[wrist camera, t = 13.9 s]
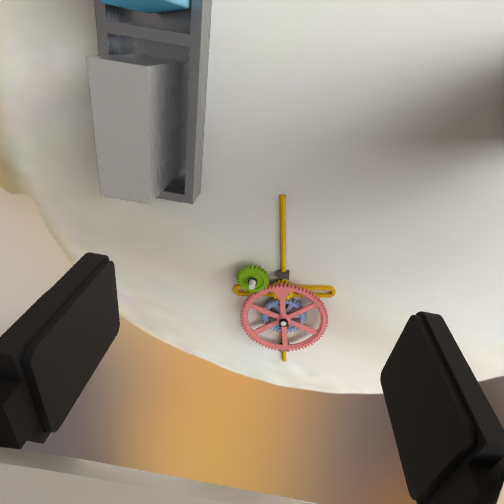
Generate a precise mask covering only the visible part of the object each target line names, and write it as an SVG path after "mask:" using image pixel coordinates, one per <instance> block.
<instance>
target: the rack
mask: <svg viewBox="0 0 504 504" xmlns="http://www.w3.org/2000/svg"><path fill="white" fill-rule="evenodd" d="M94 3H95V14H96V26H97V37H98V48H99V56H86V60H87V70H88V79H89V88H90V98H91V107H92V117H93V126H94V136H95V145H96V155H97V164H98V173H99V183H100V192H101V196H106V197H112V198H117V199H123V200H129V201H135V202H140V203H146V204H151V203H152V202H153V201H154V200H155V199H156V198H161V199H167V200H172V201H178V202H184V203H189V204H193V203H194V201H195V200H196V198H197V196H198V195H199V193H200V186H201V170H202V153H203V137H204V121H205V104H206V88H207V72H208V55H209V39H210V23H211V6H212V0H192V2H191V9H188V10H179V11H169V12H160V13H150V14H149V13H144V12H140V11H135V10H131V9H126V8H122V7H118V6H113V5H109V4H105V3H103V2H101V1H100V0H94Z"/></svg>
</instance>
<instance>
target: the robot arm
mask: <svg viewBox="0 0 504 504" xmlns="http://www.w3.org/2000/svg"><path fill="white" fill-rule="evenodd" d="M119 326H120V322H119V310H118V300H117V289H116V278H115V268H114V263H113V262H112V261H109V258H108V256H106V255H101V254H95V253H90V252H89V253H86V254H85V255H84V256H83V257H82V258H81V259H80V260H79V261H78V262H77V263H76V264H75V265H74V266H73V267H72V268H71V269H70V270H69V271H68V272H67V273H66V274H65V275H64V276H63V277H62V278H61V279H60V280H59V281H58V282H57V283H56V284H55V285H54V286H53V287H52V288H51V289H50V290H48V291H47V292H46V293H45V294H43V295H42V297H40V298H39V299H38V300H37V301H36V302H35V303H34V304H33V305H32V306H31V307H30V308H29V309H28V310H27V311H26V312H25V313H24V314H23V315H22V316H21V317H20V318H19V319H18V320H17V321H16V322H15V323H14V324H13V325H12V326H11V327H10V328H9V329H8V330H7V331H6V332H5V333H4V334H3V335H2V336H1V337H0V504H316V503H312V502H307V501H302V500H297V499H291V498H286V497H281V496H275V495H270V494H265V493H259V492H254V491H249V490H244V489H239V488H233V487H228V486H223V485H217V484H212V483H207V482H201V481H196V480H191V479H185V478H180V477H175V476H169V475H163V474H158V473H153V472H147V471H142V470H136V469H131V468H126V467H120V466H114V465H109V464H104V463H98V462H93V461H87V460H82V459H76V458H70V457H64V456H58V455H51V454H46V453H39V452H33V451H27V450H21V448H22V447H23V445H24V444H25V442H26V441H32V442H37V443H42V444H43V443H44V442H45V440H46V439H47V437H48V436H49V434H50V433H51V432H56V431H57V430H58V429H59V427H60V426H61V425H62V423H63V421H64V420H65V418H66V417H67V415H68V413H69V412H70V410H71V408H72V407H73V405H74V404H75V402H76V400H77V398H78V397H79V395H80V394H81V392H82V391H83V389H84V387H85V386H86V384H87V382H88V381H89V379H90V378H91V376H92V374H93V373H94V371H95V369H96V368H97V366H98V364H99V363H100V361H101V359H102V358H103V356H104V355H105V353H106V351H107V350H108V348H109V346H110V345H111V343H112V342H113V340H114V339H115V337H116V335H117V333H118V331H119ZM380 379H381V385H382V389H383V393H384V397H385V401H386V405H387V409H388V413H389V417H390V420H391V424H392V428H393V432H394V436H395V440H396V444H397V448H398V451H399V456H400V459H401V463H402V467H403V471H404V475H405V479H406V483H407V486H408V491H409V494H410V496H411V498H412V499H413V500H416V502H417V504H504V429H503V427H502V426H501V424H500V422H499V420H498V418H497V416H496V415H495V413H494V411H493V409H492V407H491V406H490V404H489V402H488V400H487V398H486V396H485V395H484V393H483V391H482V389H481V387H480V385H479V384H478V382H477V380H476V378H475V376H474V374H473V373H472V371H471V369H470V367H469V365H468V363H467V362H466V360H465V358H464V356H463V354H462V352H461V351H460V349H459V347H458V345H457V343H456V341H455V340H454V338H453V336H452V334H451V332H450V330H449V329H448V327H447V325H446V323H445V321H444V319H443V318H442V316H440V315H438V314H433V313H427V312H418V313H417V314H416V315H412V316H411V317H410V318H409V320H408V322H407V324H406V326H405V328H404V330H403V331H402V333H401V335H400V337H399V339H398V341H397V343H396V345H395V347H394V349H393V351H392V352H391V354H390V356H389V358H388V360H387V362H386V364H385V366H384V368H383V370H382V372H381V378H380Z"/></svg>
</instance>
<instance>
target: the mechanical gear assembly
mask: <svg viewBox="0 0 504 504" xmlns="http://www.w3.org/2000/svg"><path fill="white" fill-rule="evenodd" d="M280 227H281V270H278V279H281V280H278V283H277V282H274V284H272V285H270V284H269V279H270V278H268V277H269V275H268V274H267V271H264V269H261V266H260V267H258V268H257V265H256V266H255V267H254V266H253V264H252V266H251V267H250V266H249V265H248V267H245V266H244V269H242V268H241V271H239V272H238V274H237V281H238V284H237V285H236V286H235V287H234V293H235V294H236V295H239V296H248V299H246V301H245V302H244V304H243V306H242V310H241V321H242V323H241V324H242V327H244V328H243V329H245V332H247V334H249V337H251V339H253V341H255V340H256V343H257V342H259V345H260V344H262V346H264V345H265V347H267V346H268V349H269V348H270V347H271V349H273V348H274V349H275V350H276V349H278V351H282V360H283V362H285V361H286V351H290V350H292V351H293V350H294V349H295V350H297V348H298V349H299V350H300V348H302V349H303V347H305V348H307V346H310V344H311V345H313V343H315V341H318V339H320V337H322V334H324V332H325V329H326V327H327V324H328V315H327V311H326V308H325V306H324V303H322V300H320V298H318V297H333V296H334V295H335V289H334V287H333V286H322V285H294V284H292V285H291V282H289V283H288V280H286V279H289V270H286V222H285V195H280ZM237 289H242V290H244V289H246V291H239V290H237ZM309 290H331V291H332V292H330V293H319V292H312V291H309ZM260 296H274V299H275V300H274V299H272V301H269V303H266V305H264V307H263V308H262V307H260V306H257V305H255V304H253V302H254V301H255V300H256V299H257V298H259V297H260ZM290 297H291V298H290ZM292 297H307V298H308V299H310V300H311V301H312V302H313V303H312V304H310V305H308V306H305V307H303V306H301V303H300V304H299V302H298V301H297V302H295V299H294V300H293V301H292ZM278 304H280V306H279V305H278ZM286 304H289V306H288V307H287V308H286ZM273 306H274V307H275V308H276V309H277V311H278V312H279V313H274V312H272V311H269V310H270V308H271V307H273ZM293 307H295V308H297V311H295V312H292V313H290V314H289V312H290V310H291V309H292V308H293ZM316 307H317V308H318V310H319V312H320V316H321V322H320V325H319V328H318V330H315V329H312V328H310V327H307V326H305V325H303V323H305V321H306V312H307V311H309V310H311V309H314V308H316ZM249 308H252V309H254V310H256V311H259V312H261V313H262V320H263V322H265V325H264V326H262V327H259V328H257V329H255V330H252V328H251V327H250V325H249V322H248V310H249ZM268 317H273V318H276V319H277V320H275V321H273V322H271V321H270V320H269V318H268ZM291 318H299V320H298V322H295V321H293V320H291ZM279 325H280V326H279ZM287 325H289V326H287ZM269 328H270V329H272V328H273V331H274V330H276V332H278V331H280V333H281V332H282V343H279V344H275V343H271V342H268V341H266V340H264V339H262V338H261V337H259V336H258V335H257V334H258V333H260V332H263V331H265V330H267V329H269ZM298 328H300V329H302V330H304V331H307V332H309V333H312V334H314V335H312V336H311V337H310V338H308V339H307V340H305V341H303V342H300V343H296V344H290V345H289V343H288V339H287V333H288V331H290V332H292V330H293V331H295V329H296V330H298ZM312 342H313V343H312Z"/></svg>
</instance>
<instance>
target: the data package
mask: <svg viewBox="0 0 504 504" xmlns="http://www.w3.org/2000/svg"><path fill="white" fill-rule="evenodd" d="M100 1H101V2H103V3H105V4H109V5H113V6H118V7H122V8H126V9H131V10H135V11H140V12H144V13H149V14H150V13H160V12H169V11H179V10H188V9H191V2H192V0H100Z"/></svg>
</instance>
